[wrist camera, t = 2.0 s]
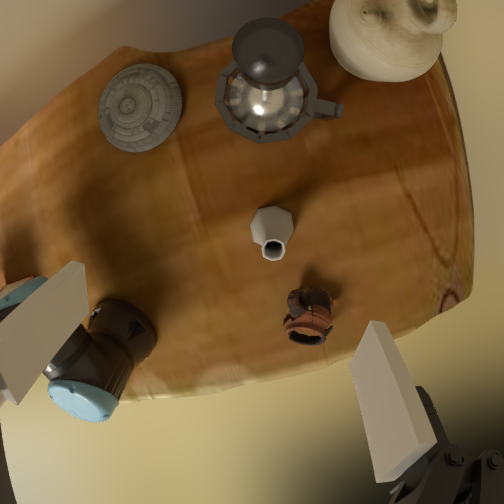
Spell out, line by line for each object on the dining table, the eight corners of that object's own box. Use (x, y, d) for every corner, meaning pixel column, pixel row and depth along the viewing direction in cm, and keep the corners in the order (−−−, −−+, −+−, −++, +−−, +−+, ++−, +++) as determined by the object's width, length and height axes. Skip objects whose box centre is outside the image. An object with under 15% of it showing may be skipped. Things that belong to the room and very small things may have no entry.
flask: (290, 250, 50) (296, 277, 41) (247, 244, 50) (243, 271, 41) (297, 208, 47) (305, 227, 38) (252, 202, 47) (249, 220, 38)
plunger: (225, 125, 33) (173, 115, 14) (235, 60, 30) (201, -21, 11) (296, 136, 33) (338, 139, 14) (306, 70, 30) (357, 1, 11)
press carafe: (222, 136, 43) (206, 137, 31) (233, 65, 39) (221, 41, 27) (317, 152, 44) (338, 159, 32) (329, 81, 39) (353, 64, 27)
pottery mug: (344, 306, 55) (339, 345, 49) (302, 313, 60) (294, 349, 55) (314, 269, 48) (306, 312, 43) (268, 280, 54) (257, 320, 49)
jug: (401, 14, 33) (483, -40, 10) (410, 94, 39) (514, 81, 16) (315, 1, 34) (352, -87, 11) (322, 85, 40) (381, 40, 17)
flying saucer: (198, 127, 43) (190, 127, 38) (120, 166, 46) (105, 171, 41) (166, 49, 38) (154, 41, 33) (91, 93, 41) (74, 91, 36)
